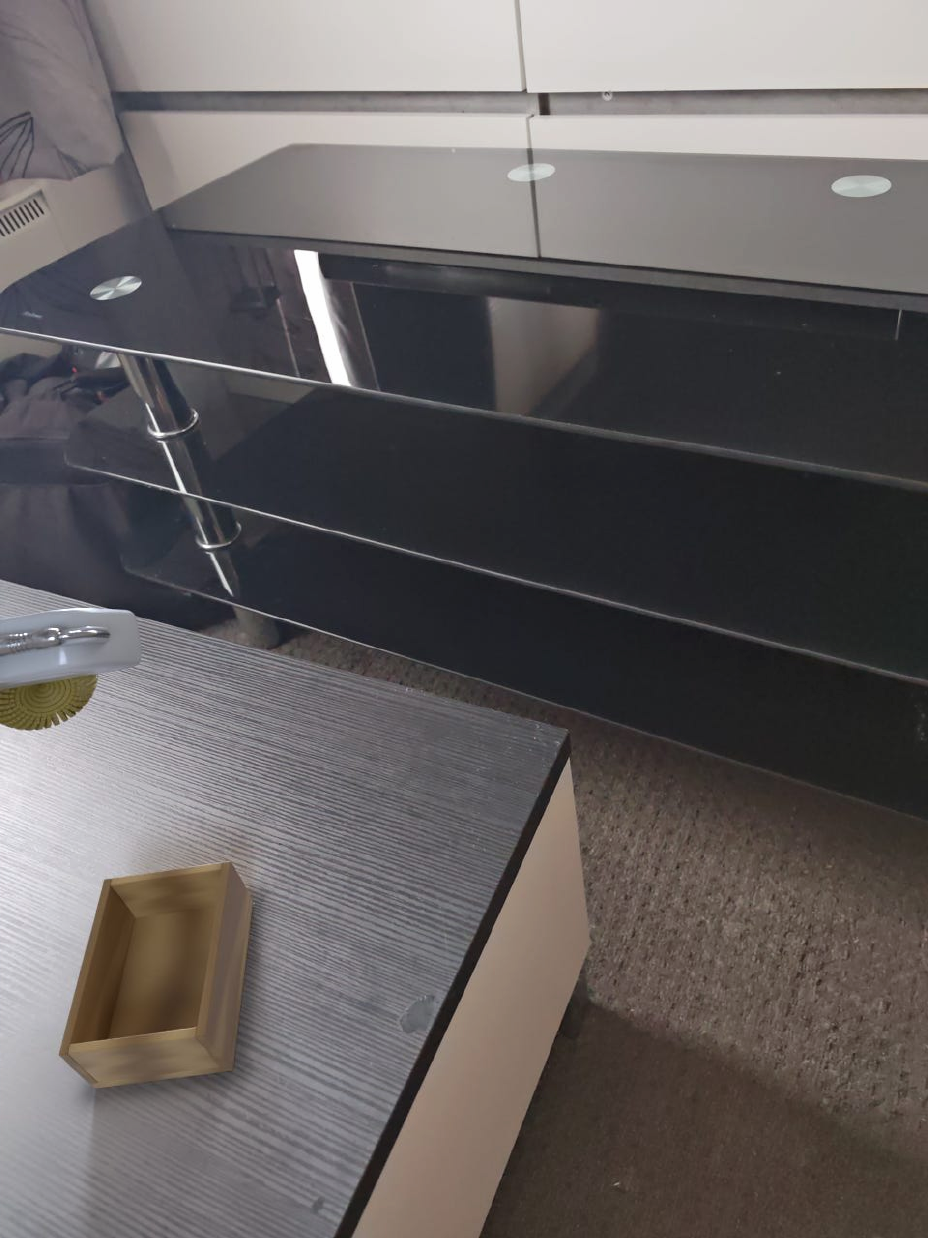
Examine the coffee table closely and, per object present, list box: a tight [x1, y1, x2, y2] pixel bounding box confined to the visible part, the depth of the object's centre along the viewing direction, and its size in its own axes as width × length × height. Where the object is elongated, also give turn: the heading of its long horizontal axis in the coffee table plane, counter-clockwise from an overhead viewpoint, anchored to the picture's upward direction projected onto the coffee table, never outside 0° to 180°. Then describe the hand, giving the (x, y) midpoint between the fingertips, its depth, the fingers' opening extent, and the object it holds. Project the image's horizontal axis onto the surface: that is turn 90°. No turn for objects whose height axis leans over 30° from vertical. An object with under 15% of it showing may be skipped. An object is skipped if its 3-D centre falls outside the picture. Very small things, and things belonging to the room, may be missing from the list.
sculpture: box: [0, 674, 99, 732], centre depth 64 cm, size 8×4×8 cm, turn 126°
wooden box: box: [58, 860, 254, 1090], centre depth 62 cm, size 9×12×5 cm
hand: (33, 663), depth 64 cm, fingers closed on sculpture, 7 cm apart
